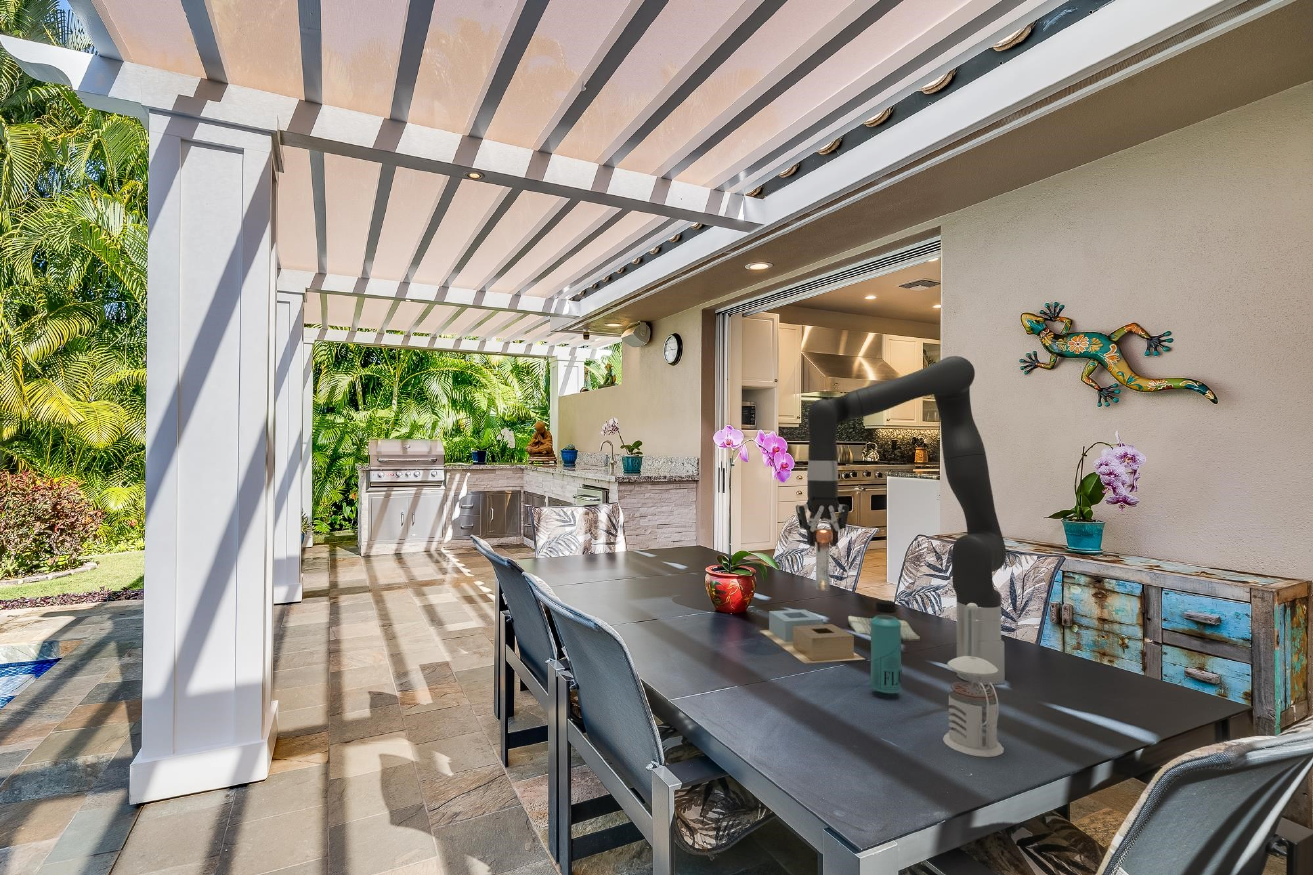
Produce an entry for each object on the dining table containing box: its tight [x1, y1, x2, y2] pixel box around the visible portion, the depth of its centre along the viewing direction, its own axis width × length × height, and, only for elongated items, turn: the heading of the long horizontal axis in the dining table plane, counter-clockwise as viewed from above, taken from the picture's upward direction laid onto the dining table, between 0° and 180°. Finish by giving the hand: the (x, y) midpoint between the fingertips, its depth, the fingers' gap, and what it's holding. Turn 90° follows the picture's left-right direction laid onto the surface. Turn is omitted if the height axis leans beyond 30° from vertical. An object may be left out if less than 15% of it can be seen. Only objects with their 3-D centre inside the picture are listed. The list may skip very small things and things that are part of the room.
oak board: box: [759, 629, 865, 664], centre depth 170 cm, size 29×16×2 cm, turn 12°
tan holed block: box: [793, 623, 855, 661], centre depth 162 cm, size 11×11×6 cm
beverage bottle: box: [869, 599, 903, 694], centre depth 138 cm, size 6×7×20 cm
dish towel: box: [847, 615, 921, 642], centre depth 188 cm, size 19×18×3 cm
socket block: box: [768, 609, 824, 642], centre depth 178 cm, size 11×11×6 cm
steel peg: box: [814, 527, 833, 591], centre depth 163 cm, size 5×5×15 cm
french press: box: [942, 603, 1005, 758], centre depth 115 cm, size 10×12×25 cm
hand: (822, 545), depth 163 cm, fingers closed on steel peg, 5 cm apart
